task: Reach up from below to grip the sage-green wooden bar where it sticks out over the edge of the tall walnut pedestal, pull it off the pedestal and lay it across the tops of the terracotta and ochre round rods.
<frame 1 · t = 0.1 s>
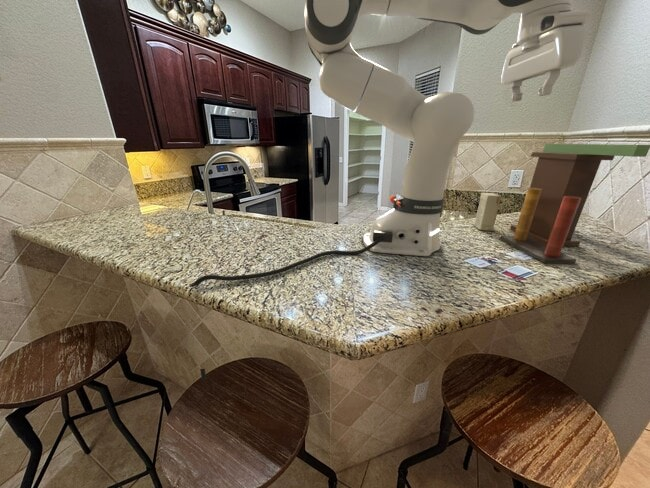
hand: (529, 98, 64), 39 cm above the worktop, tool pointing down, fingers open, 8 cm apart
cosmetic box: (483, 228, 94), on the worktop
rod stand: (533, 249, 75), on the worktop
walnut pedestal: (541, 237, 85), on the worktop
green bar: (585, 154, 71), point 26 cm above the worktop, touching walnut pedestal
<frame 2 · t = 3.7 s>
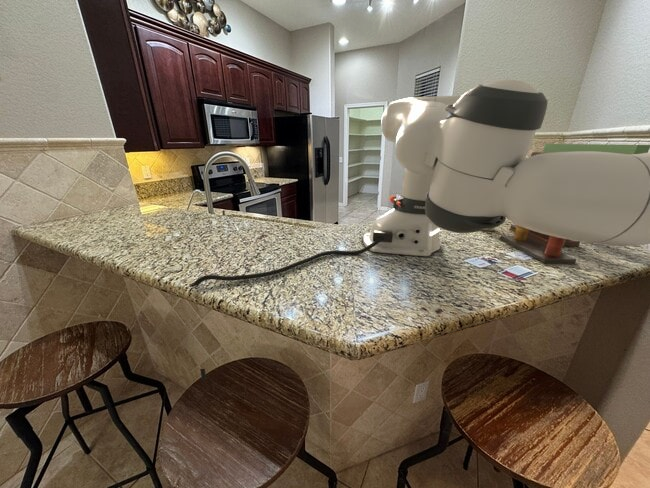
nothing on the worktop moved.
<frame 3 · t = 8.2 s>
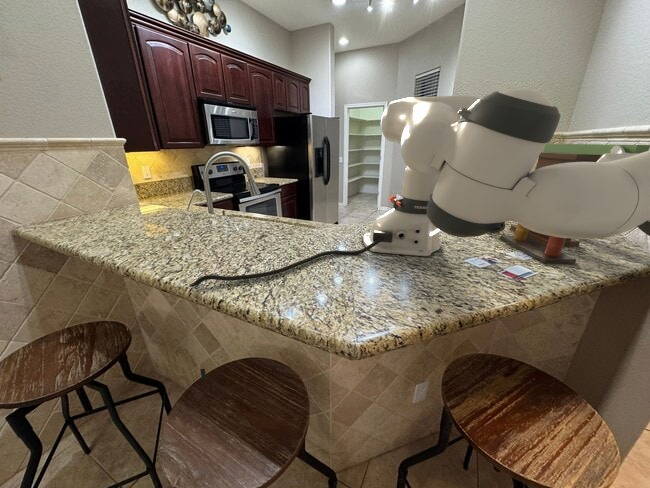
hand: (624, 148, 62), 28 cm above the worktop, tool pointing upward, fingers closed on green bar, 3 cm apart
green bar: (585, 154, 71), point 26 cm above the worktop, touching gripper, walnut pedestal
everything else where it was.
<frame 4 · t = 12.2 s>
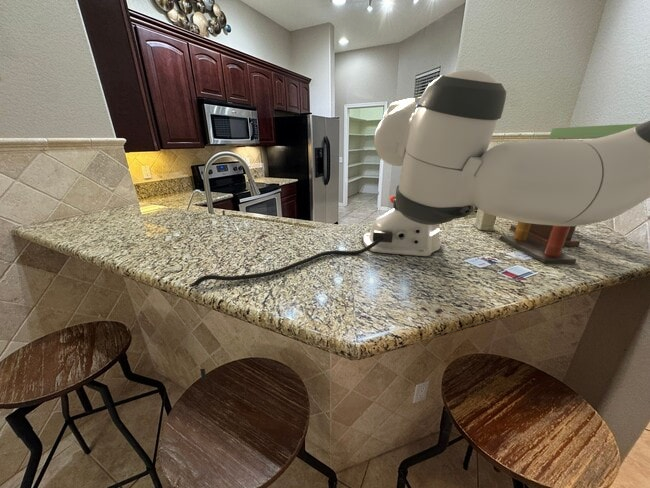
hand: (649, 127, 52), 32 cm above the worktop, tool pointing upward, fingers closed on green bar, 3 cm apart
green bar: (600, 137, 61), point 30 cm above the worktop, touching gripper
everything else where it was.
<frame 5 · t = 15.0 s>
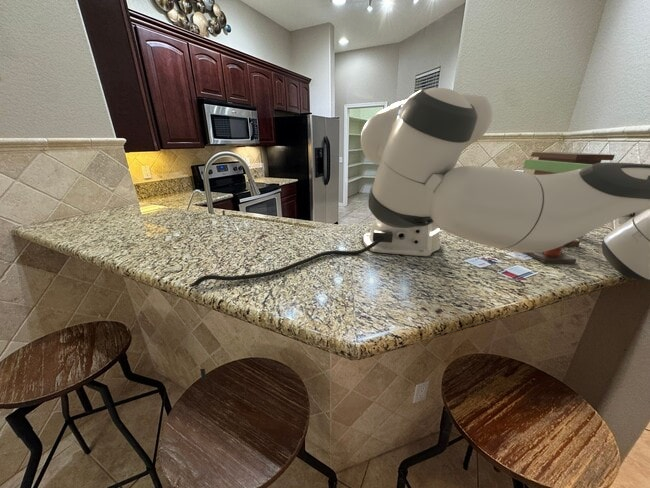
hand: (605, 170, 56), 23 cm above the worktop, tool pointing upward, fingers closed on green bar, 3 cm apart
green bar: (565, 173, 65), point 22 cm above the worktop, touching gripper
everything else where it was.
when the fingers open (18 cm above the worktop, at t = 16.7 s): green bar stays where it is, resting on rod stand.
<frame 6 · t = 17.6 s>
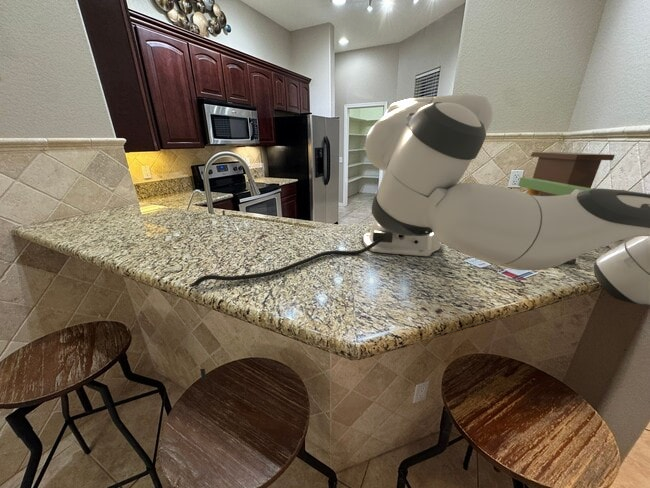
hand: (596, 191, 58), 19 cm above the worktop, tool pointing upward, fingers open, 8 cm apart
green bar: (558, 194, 67), point 16 cm above the worktop, touching rod stand
everything else where it was.
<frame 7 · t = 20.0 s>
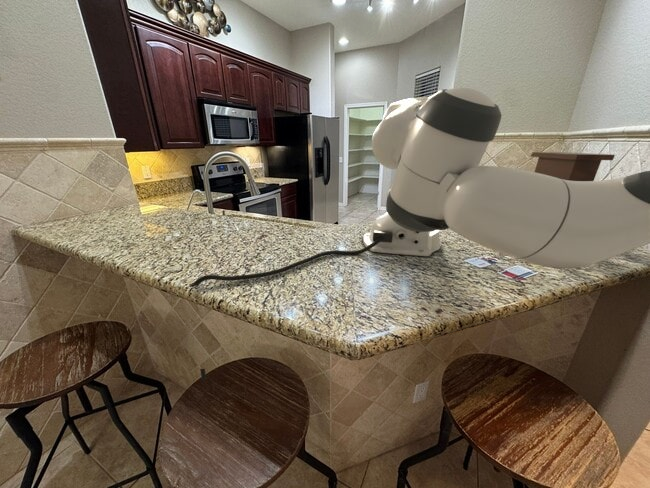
nothing on the worktop moved.
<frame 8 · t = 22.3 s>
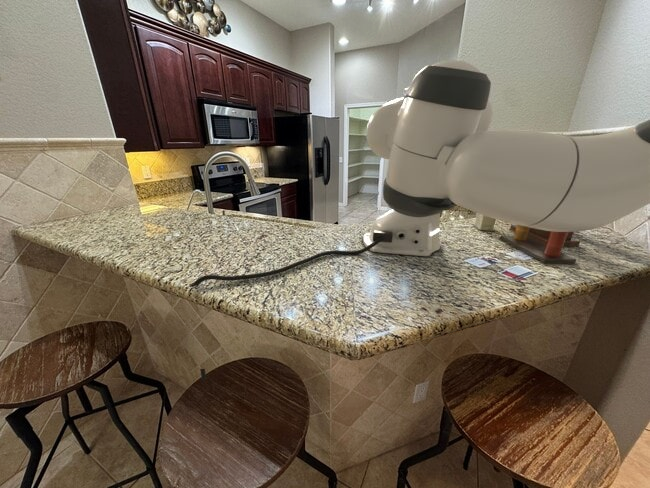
nothing on the worktop moved.
at the end: green bar inside the target area (0.1 cm from its centre), point 16.5 cm above the worktop; green bar tilted 0°; the gripper is holding nothing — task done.
